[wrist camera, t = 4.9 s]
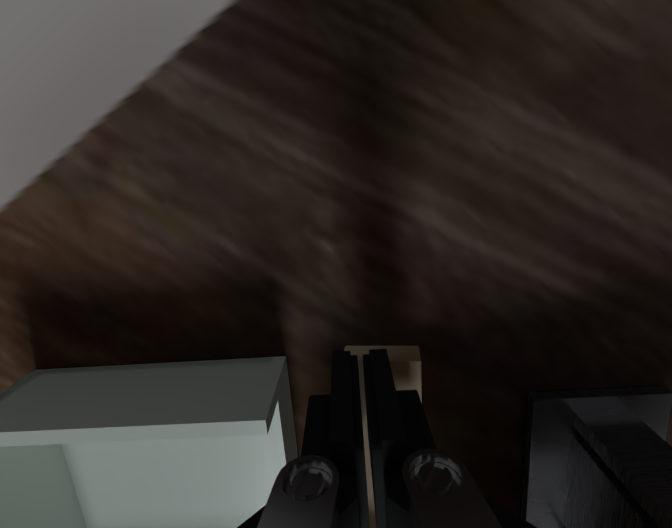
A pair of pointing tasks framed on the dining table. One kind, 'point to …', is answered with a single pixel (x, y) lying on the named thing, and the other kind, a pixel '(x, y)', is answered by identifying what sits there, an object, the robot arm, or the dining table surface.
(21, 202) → the dining table surface
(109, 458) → the tray
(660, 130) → the dining table surface
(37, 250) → the dining table surface
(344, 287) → the dining table surface
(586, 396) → the fulcrum
